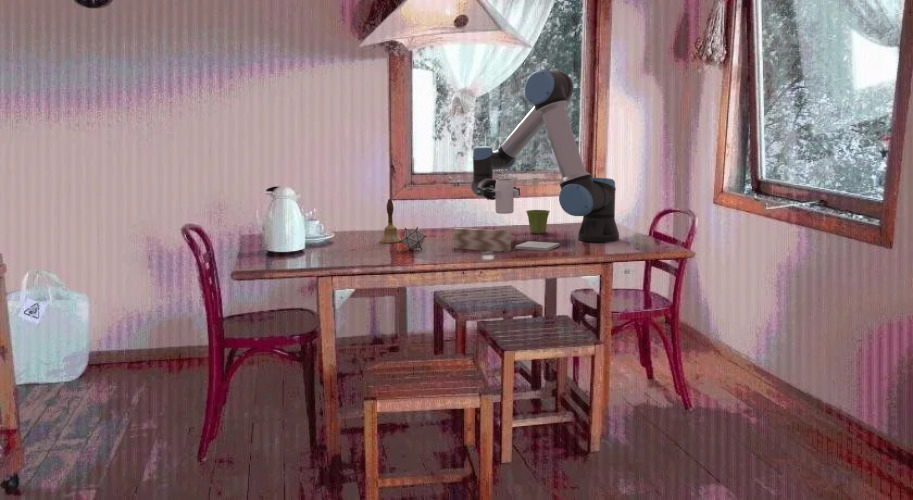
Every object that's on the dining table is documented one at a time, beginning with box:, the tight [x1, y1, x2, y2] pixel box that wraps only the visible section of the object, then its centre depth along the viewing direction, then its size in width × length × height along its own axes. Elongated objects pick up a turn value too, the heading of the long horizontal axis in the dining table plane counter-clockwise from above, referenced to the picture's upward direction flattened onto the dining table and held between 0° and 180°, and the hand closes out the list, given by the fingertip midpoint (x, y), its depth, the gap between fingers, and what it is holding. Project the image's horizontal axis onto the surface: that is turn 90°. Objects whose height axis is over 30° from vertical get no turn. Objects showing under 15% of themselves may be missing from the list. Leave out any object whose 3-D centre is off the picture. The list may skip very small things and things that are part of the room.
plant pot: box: [525, 209, 551, 234], centre depth 339 cm, size 9×9×9 cm
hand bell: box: [379, 198, 403, 244], centre depth 320 cm, size 8×8×16 cm
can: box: [495, 178, 515, 215], centre depth 305 cm, size 6×6×12 cm
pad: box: [514, 240, 560, 252], centre depth 303 cm, size 12×12×1 cm
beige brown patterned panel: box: [453, 227, 512, 253], centre depth 299 cm, size 21×2×7 cm, turn 63°
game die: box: [398, 226, 428, 252], centre depth 300 cm, size 9×8×10 cm
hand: (508, 194), depth 299 cm, fingers closed on can, 6 cm apart
